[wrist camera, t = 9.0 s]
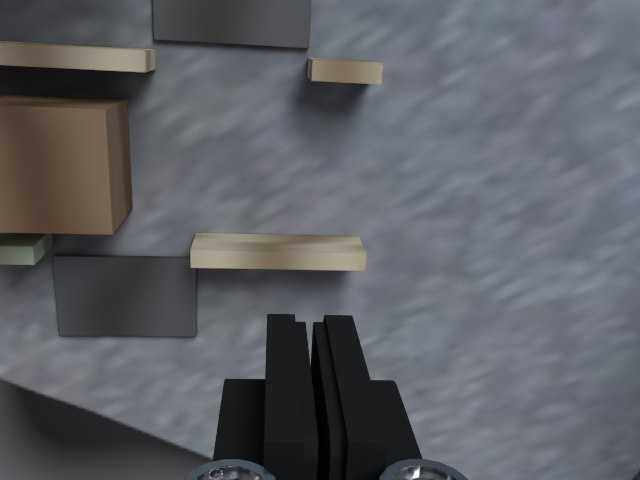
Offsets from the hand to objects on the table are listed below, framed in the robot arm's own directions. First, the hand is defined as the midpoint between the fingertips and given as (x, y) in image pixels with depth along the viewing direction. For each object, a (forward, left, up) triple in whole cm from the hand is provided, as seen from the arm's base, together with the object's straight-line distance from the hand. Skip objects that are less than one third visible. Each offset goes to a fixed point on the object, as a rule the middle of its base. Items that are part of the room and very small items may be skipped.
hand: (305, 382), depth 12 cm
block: (+11, 0, -24) cm, 26 cm away
